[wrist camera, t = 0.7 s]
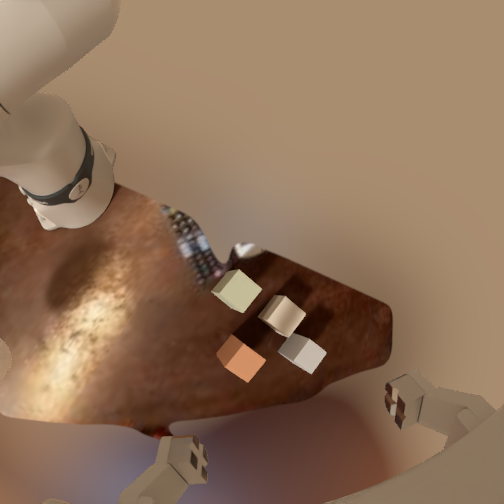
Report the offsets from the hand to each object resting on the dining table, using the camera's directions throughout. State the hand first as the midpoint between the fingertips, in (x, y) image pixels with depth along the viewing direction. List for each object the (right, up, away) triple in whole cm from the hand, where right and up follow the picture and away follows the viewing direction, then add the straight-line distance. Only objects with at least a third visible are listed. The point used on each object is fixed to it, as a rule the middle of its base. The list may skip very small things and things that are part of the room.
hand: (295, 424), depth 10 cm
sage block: (-6, +1, +38) cm, 39 cm away
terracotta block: (-5, -10, +37) cm, 39 cm away
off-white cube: (+3, -4, +40) cm, 40 cm away
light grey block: (+6, -11, +40) cm, 42 cm away
